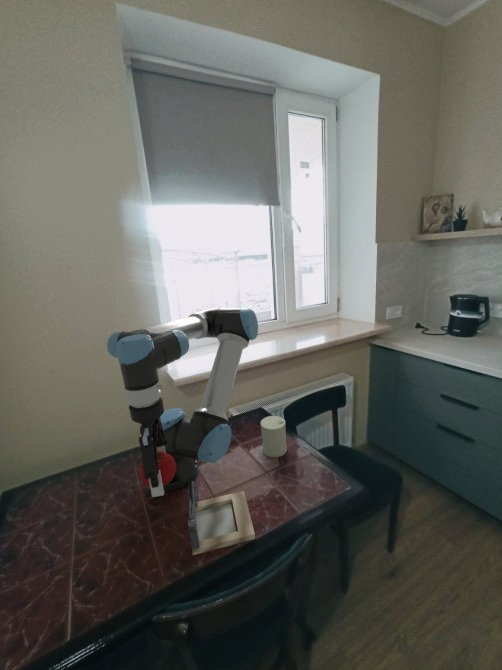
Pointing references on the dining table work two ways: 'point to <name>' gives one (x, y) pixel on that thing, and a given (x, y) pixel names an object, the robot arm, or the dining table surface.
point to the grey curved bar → (193, 516)
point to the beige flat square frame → (223, 522)
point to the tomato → (162, 468)
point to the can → (273, 436)
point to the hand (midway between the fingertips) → (160, 480)
